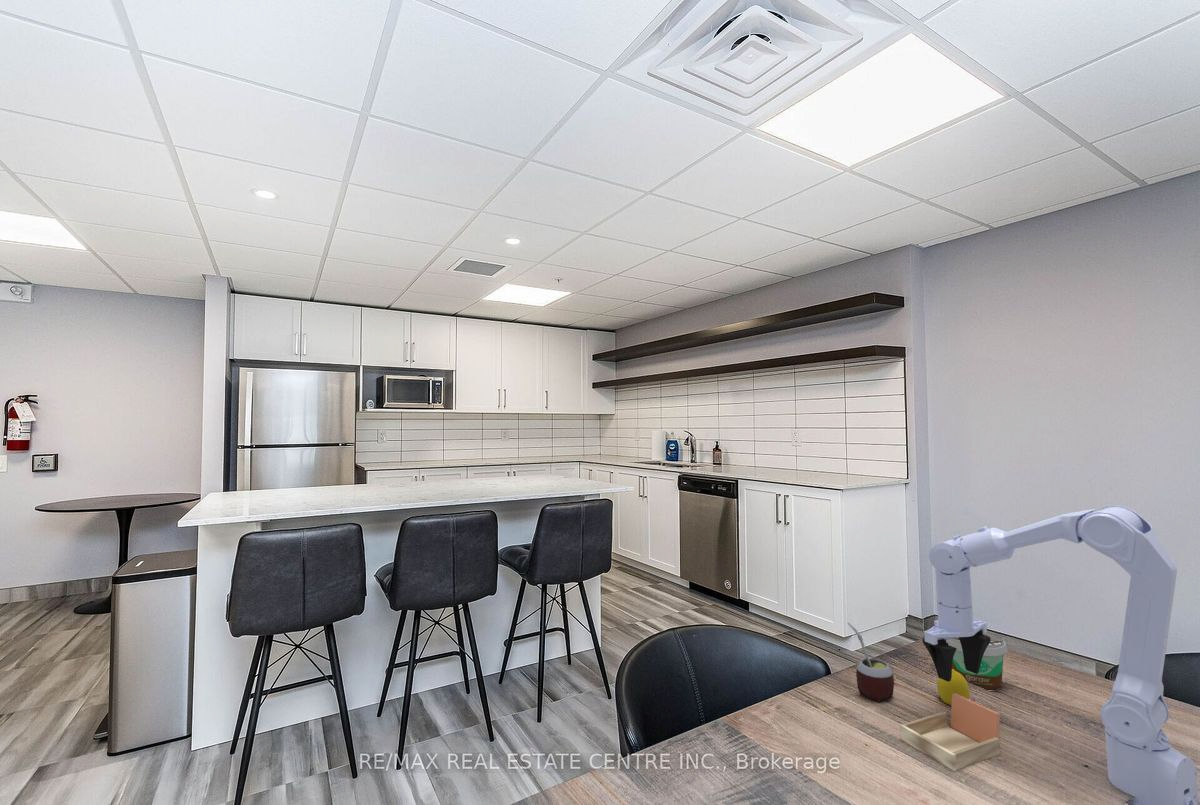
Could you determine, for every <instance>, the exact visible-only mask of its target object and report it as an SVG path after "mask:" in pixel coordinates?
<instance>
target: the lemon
mask: <svg viewBox="0 0 1200 805" xmlns="http://www.w3.org/2000/svg"><path fill="white" fill-rule="evenodd" d="M936 688H937V692H938V695H939V697H940V699H941V701H943V703H945V704H947V705H948V706H952V694H954V693H956V694H958V695H960V696H963V697H965V698H967V699H969V700H970V698H971V697H970V696H971V695H970V694H971V693H970V688H969V682H967V681H966V679H965V678H964V677H963V676H962V675H961V674H960V673H958V672H956V671H955V670H954V669H952V677H951V681H949V682H947V681H945V680H943V679H941V678H939V677H938V679H937V687H936Z"/></svg>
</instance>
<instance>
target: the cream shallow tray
mask: <svg viewBox="0 0 1200 805" xmlns="http://www.w3.org/2000/svg"><path fill="white" fill-rule="evenodd" d="M899 735H900V736H899V737H900V741H902V742H904V743H906V744H907V745H909V746H911V747H913V748H914V749H916V750H918V751H919V752H921V753H923V754H924V755H926V756H927V757H929V758H931V759H932V760H934V761H935V762H938V763H940V765H943V766H945V767H946V768H947V769H949V770H951V771H953V772H956V771H959V770H961V769H964V768H967V767H969V766H973V765H975V764H978V763H980V762H983V761H985V760H988V759H991V758H993V757H996V756H998V755H1000V754H1001V751H1000V750H1001V749H1000V748H1001V747H1000V738H999V739H998V738H996V737H994V738H991V739H989V740H986V741H983V742H978V741H977V740H975V739H973V738H971V737H969V736H967V735H965V734H963V733H961V732H959V731H957V730H955V729H953V728H952V727H951V726H948V714H947V712H946V711H944V710H943V711H940V712H937V713H933V714H931V715H927V716H924V717H921V718H917V719H914V720H912V721H909V722H905V723H902V724H899Z"/></svg>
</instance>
